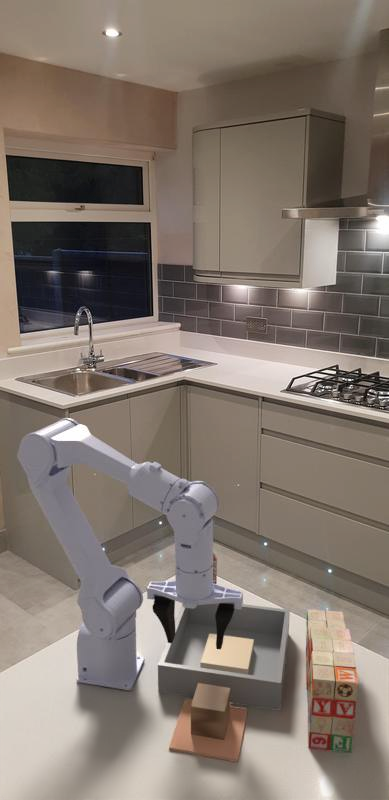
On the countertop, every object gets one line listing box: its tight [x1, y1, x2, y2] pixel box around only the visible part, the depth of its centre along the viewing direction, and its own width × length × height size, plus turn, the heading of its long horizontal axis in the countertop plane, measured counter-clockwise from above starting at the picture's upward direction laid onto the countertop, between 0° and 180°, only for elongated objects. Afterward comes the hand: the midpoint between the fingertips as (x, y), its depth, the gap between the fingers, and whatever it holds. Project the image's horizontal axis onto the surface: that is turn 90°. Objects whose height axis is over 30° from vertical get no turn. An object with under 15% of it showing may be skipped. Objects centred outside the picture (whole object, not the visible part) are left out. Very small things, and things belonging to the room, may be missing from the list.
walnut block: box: [191, 683, 231, 740], centre depth 96 cm, size 5×5×5 cm
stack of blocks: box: [305, 609, 359, 754], centre depth 101 cm, size 21×6×12 cm, turn 172°
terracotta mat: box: [168, 698, 249, 763], centre depth 96 cm, size 10×10×1 cm
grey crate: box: [157, 603, 291, 711], centre depth 111 cm, size 20×20×6 cm
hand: (195, 642), depth 100 cm, fingers open, 7 cm apart
